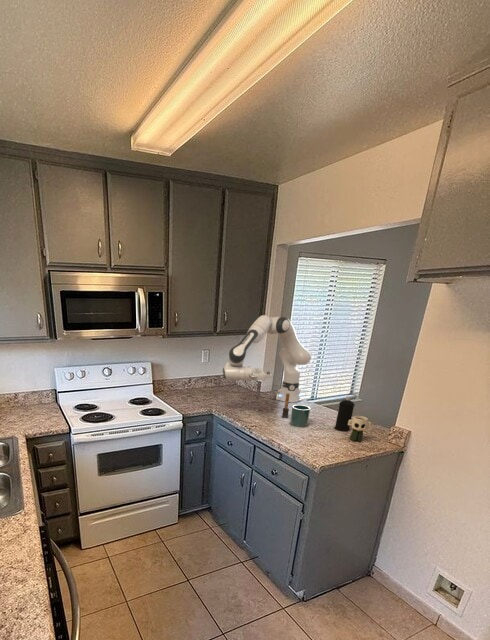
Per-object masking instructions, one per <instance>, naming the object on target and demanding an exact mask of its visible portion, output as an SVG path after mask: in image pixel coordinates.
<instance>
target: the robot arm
mask: <svg viewBox="0 0 490 640" xmlns="http://www.w3.org/2000/svg"><path fill="white" fill-rule="evenodd" d="M266 334H269V335H275V334H276V335H278V339H279V341H280V343H281V346H282V348H280V350H279V352H278V357H279V359H280V361H281V362H282V366H283V379H282V383H281V386H280V388H279V389H277V393H276V396H275V400H276V401H279V402H280V401H281V402H283V403H285V400H286V393H289V394H290V395H289V403H297V402H302V398H301V389H300V377H301V371H300V370H299V368H298V365H299V366H304V365H307V364H308V363H309V362H311V358H312V355H311V354H312V353H311V352H310V351H308V350H307V349H306V348H305V347H304V346H303V344H302V343H301V342H300V340H299V338H298V336H297V334H296V330H295V327H294V326H293V323H292V322H291V320H290V319H289V318H288V317H285V316H268V315H265V314H263V315H260V316H258V317H257V318H256V320H255V321H254V322H253V323H252V324H251V326H250V327H249V328H248V330H247V332H246V333H245V335H244V337H243V338H241V340H240V342H239V343H238V344H236V345H234V346H233V347H231V348H230V349H229V352H228V356H229V357H228V359H227V362H226V364H225V365H224V366H223V368H222V375H223V378H224V379H225V380H228V381H243V382H251V381H252V380H253V381H265V380H266V379H271V378H273V374H271V372H270V371H268V370H267V371H266V370H263V369H262V368H260V367H252V366H243V365H244V362H245V358H246V355H247V354H246V353H247V351H248V349H249V348H250V346H251V345H253V344H258V343H260V342H261V341H262V340H263V339H264V337H266Z"/></svg>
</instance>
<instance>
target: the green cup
mask: <svg viewBox="0 0 490 640" xmlns="http://www.w3.org/2000/svg"><path fill="white" fill-rule="evenodd" d="M291 407H292V408H291V412H290V413H291V414H290V420H289V421H290V422H289V424H290V426H293V427H296V428H306V427H308V425H309V418H310V414H311V413H310V412H311V407H310V406H307V405H303V404H294V405H292V406H291Z"/></svg>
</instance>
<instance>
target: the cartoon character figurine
mask: <svg viewBox="0 0 490 640" xmlns="http://www.w3.org/2000/svg"><path fill="white" fill-rule="evenodd" d="M368 420H369V419H368V417H367V416H363V415H354V416H352V419H351V420H349V421H348V425H350V427H351V428H352V431H351V433H350V435H349V439H350V440H351V441H355V442H356V441H357V442H362V441H363V439H364V438H363V437H364V431H365V430H366V428H367V429H369V428H371V425H372V421H368ZM350 422H351V423H350ZM367 424H368V425H367Z"/></svg>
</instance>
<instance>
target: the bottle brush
mask: <svg viewBox="0 0 490 640" xmlns="http://www.w3.org/2000/svg"><path fill="white" fill-rule="evenodd" d="M289 395H290V394H289V393H286V400H285V402H284V407H283V408H282V415H281V418H283V419H288V418H289V411H290V408H289V403H290V402H289Z"/></svg>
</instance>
